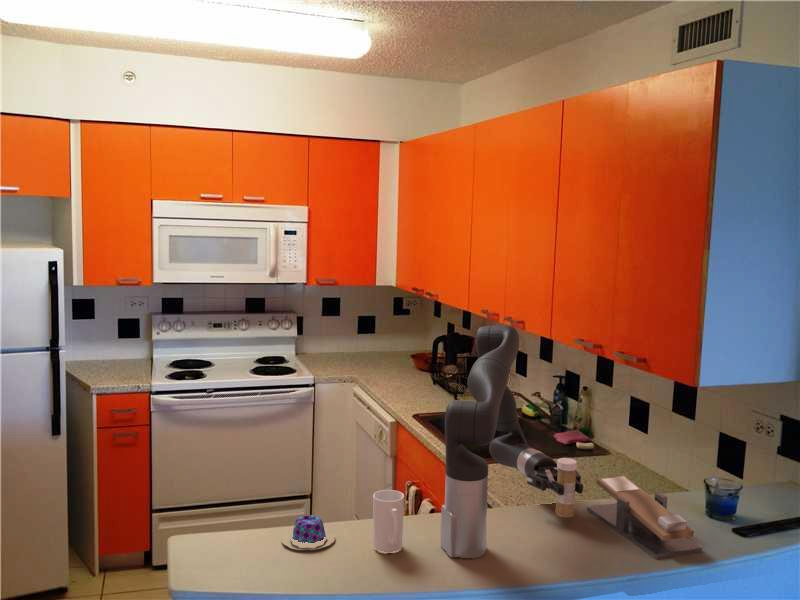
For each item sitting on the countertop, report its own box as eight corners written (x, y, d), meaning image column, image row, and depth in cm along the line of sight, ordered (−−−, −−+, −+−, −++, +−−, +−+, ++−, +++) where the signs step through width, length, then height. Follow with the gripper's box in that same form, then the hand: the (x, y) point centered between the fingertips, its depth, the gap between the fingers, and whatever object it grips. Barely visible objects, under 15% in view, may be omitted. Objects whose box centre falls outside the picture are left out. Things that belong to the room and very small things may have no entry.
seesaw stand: (656, 559, 155) (657, 523, 154) (586, 510, 181) (588, 479, 180) (701, 551, 159) (704, 517, 158) (627, 505, 184) (629, 475, 183)
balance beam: (661, 540, 156) (663, 527, 155) (595, 482, 180) (597, 471, 179) (693, 536, 158) (696, 523, 158) (624, 479, 182) (626, 468, 182)
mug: (369, 542, 161) (369, 491, 160) (398, 539, 163) (399, 488, 161) (380, 563, 151) (381, 508, 150) (411, 559, 153) (412, 505, 152)
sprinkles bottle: (552, 510, 175) (554, 457, 174) (570, 510, 176) (573, 457, 174) (558, 518, 171) (560, 463, 169) (577, 518, 171) (579, 463, 170)
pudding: (346, 540, 163) (346, 518, 162) (307, 559, 153) (307, 536, 153) (309, 526, 170) (309, 504, 170) (270, 543, 161) (270, 520, 160)
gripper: (512, 454, 183) (546, 477, 167) (562, 450, 188) (599, 472, 172) (511, 483, 184) (544, 508, 168) (560, 478, 189) (597, 502, 172)
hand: (572, 490), depth 170 cm, fingers closed on sprinkles bottle, 4 cm apart
